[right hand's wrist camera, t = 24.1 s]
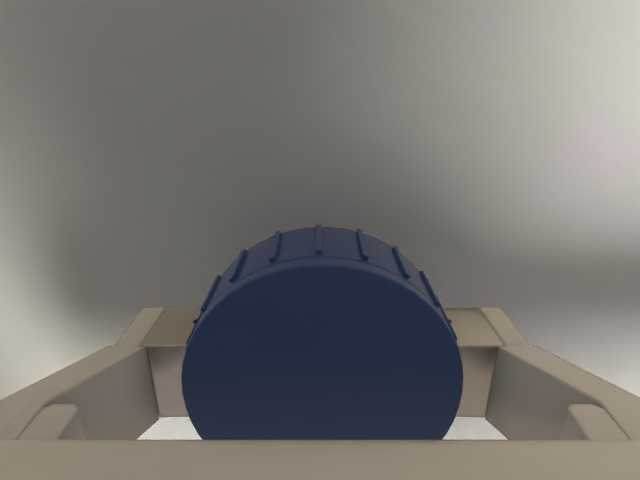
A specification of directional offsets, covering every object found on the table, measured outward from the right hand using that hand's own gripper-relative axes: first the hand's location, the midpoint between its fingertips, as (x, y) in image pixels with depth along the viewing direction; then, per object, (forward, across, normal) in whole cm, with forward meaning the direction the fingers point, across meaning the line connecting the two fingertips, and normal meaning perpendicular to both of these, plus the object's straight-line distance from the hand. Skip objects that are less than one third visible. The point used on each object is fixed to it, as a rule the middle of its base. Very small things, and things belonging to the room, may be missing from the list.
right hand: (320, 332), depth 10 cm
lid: (-2, 0, 0) cm, 2 cm away
